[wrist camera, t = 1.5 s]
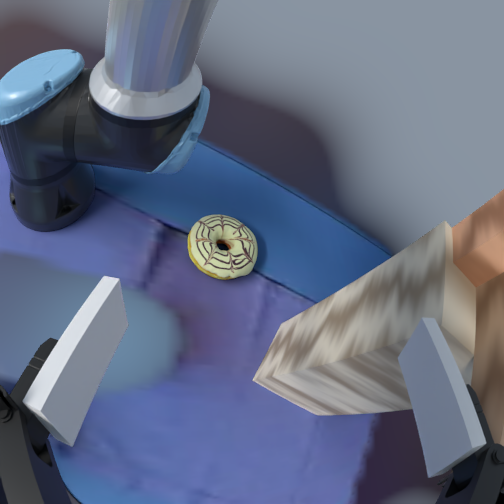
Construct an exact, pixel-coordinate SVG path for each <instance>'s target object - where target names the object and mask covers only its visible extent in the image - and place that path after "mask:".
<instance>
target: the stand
mask: <svg viewBox="0 0 504 504" xmlns="http://www.w3.org/2000/svg"><path fill="white" fill-rule="evenodd" d="M422 317H423V318H435V320H436V322H437V324H438V326H439V328H440V330H441V332H442V334H443V336H444V338H445V340H446V342H447V344H448V346H449V348H450V351H451V353H452V355H453V357H454V359H455V362H456V364H457V366H458V368H459V371H460V373H461V375H462V378H463V380H464V382H465V385H466V384H469V385H470V386H471V378H472V370H473V360H474V348H475V331H476V287H475V286H474V285H473V284H472V283H471V282H470V280H469V279H468V278H467V277H466V276H465V275H464V274H463V273H462V272H461V271H460V269H459V268H458V267H457V266H456V265H455V264H454V263H453V239H452V227H451V226H450V225H449V224H448V223H447V222H446V221H443V222H442V223H441V224H439V225H438V226H436V227H435V228H434V229H432V230H431V231H429V232H428V233H427V234H425V235H424V236H422V237H421V238H419V239H418V240H417V241H415V242H414V243H412V244H411V245H409V246H408V247H406V248H405V249H403V250H402V251H401V252H399V253H397V254H396V255H394V256H393V257H391V258H390V259H388V260H387V261H385V262H384V263H382V264H381V265H379V266H378V267H376V268H374V269H373V270H371V271H370V272H368V273H367V274H365V275H363V276H362V277H360V278H359V279H357V280H355V281H354V282H352V283H351V284H349V285H347V286H346V287H344V288H342V289H341V290H339V291H338V292H336V293H334V294H333V295H331V296H329V297H327V298H326V299H324V300H322V301H321V302H319V303H317V304H316V305H314V306H312V307H310V308H309V309H307V310H305V311H303V312H302V313H300V314H298V315H296V316H295V317H293V318H291V319H289V320H287V321H286V322H284V323H282V324H281V326H280V328H279V330H278V332H277V334H276V336H275V338H274V340H273V342H272V343H271V345H270V347H269V349H268V351H267V353H266V355H265V357H264V359H263V361H262V363H261V365H260V367H259V369H258V371H257V372H256V374H255V376H254V378H253V381H254V382H256V383H258V384H260V385H261V386H263V387H265V388H267V389H268V390H270V391H272V392H274V393H276V394H277V395H279V396H281V397H283V398H285V399H287V400H289V401H290V402H292V403H294V404H296V405H298V406H300V407H302V408H304V409H306V410H308V411H310V412H312V413H314V414H316V415H349V414H366V413H379V412H390V411H398V410H407V409H413V408H412V405H411V401H410V397H409V394H408V390H407V387H406V384H405V380H404V377H403V374H402V370H401V367H400V364H399V361H398V356H399V355H400V353H401V352H402V350H403V348H404V347H405V345H406V344H407V342H408V340H409V339H410V337H411V335H412V334H413V332H414V330H415V329H416V327H417V325H418V323H419V322H420V320H421V318H422Z"/></svg>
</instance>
